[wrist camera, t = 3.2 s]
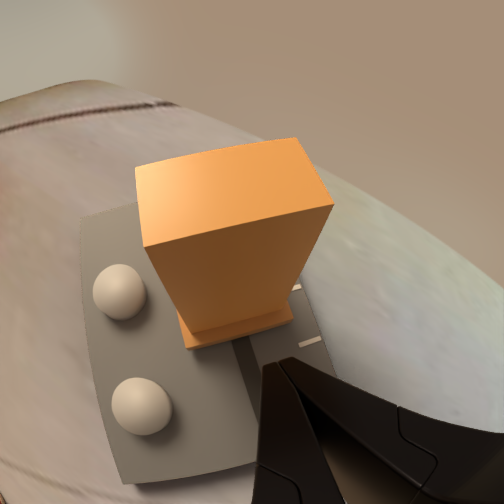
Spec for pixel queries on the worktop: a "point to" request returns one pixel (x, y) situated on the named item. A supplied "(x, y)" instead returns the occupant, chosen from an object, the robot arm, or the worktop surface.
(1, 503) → the soda can
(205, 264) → the fader tab
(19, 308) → the worktop surface
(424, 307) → the worktop surface
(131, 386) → the console board
